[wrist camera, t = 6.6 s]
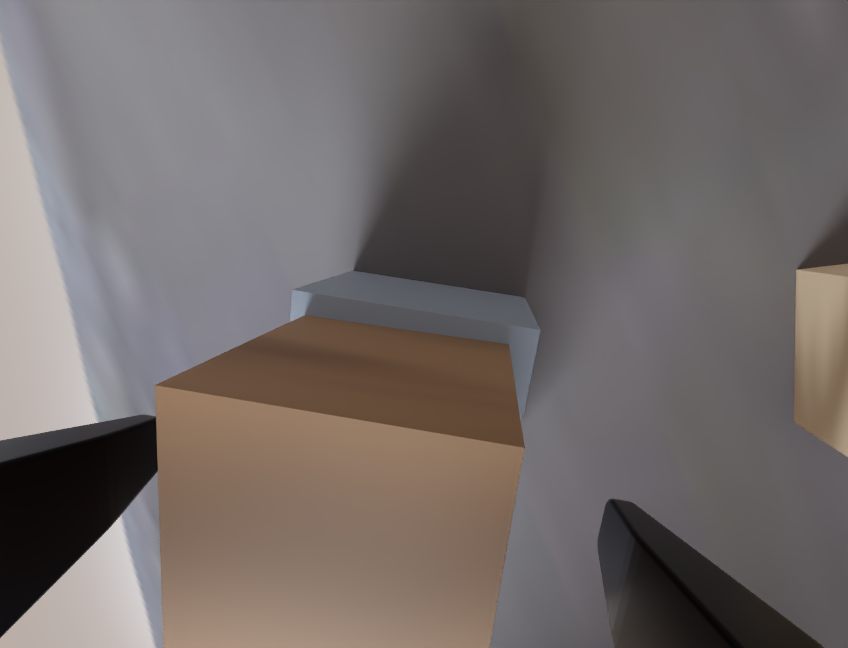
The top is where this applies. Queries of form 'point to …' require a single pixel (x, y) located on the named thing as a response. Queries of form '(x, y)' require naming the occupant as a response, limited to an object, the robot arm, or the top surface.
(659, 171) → the top surface
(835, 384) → the maple block
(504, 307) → the base block
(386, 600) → the walnut block
